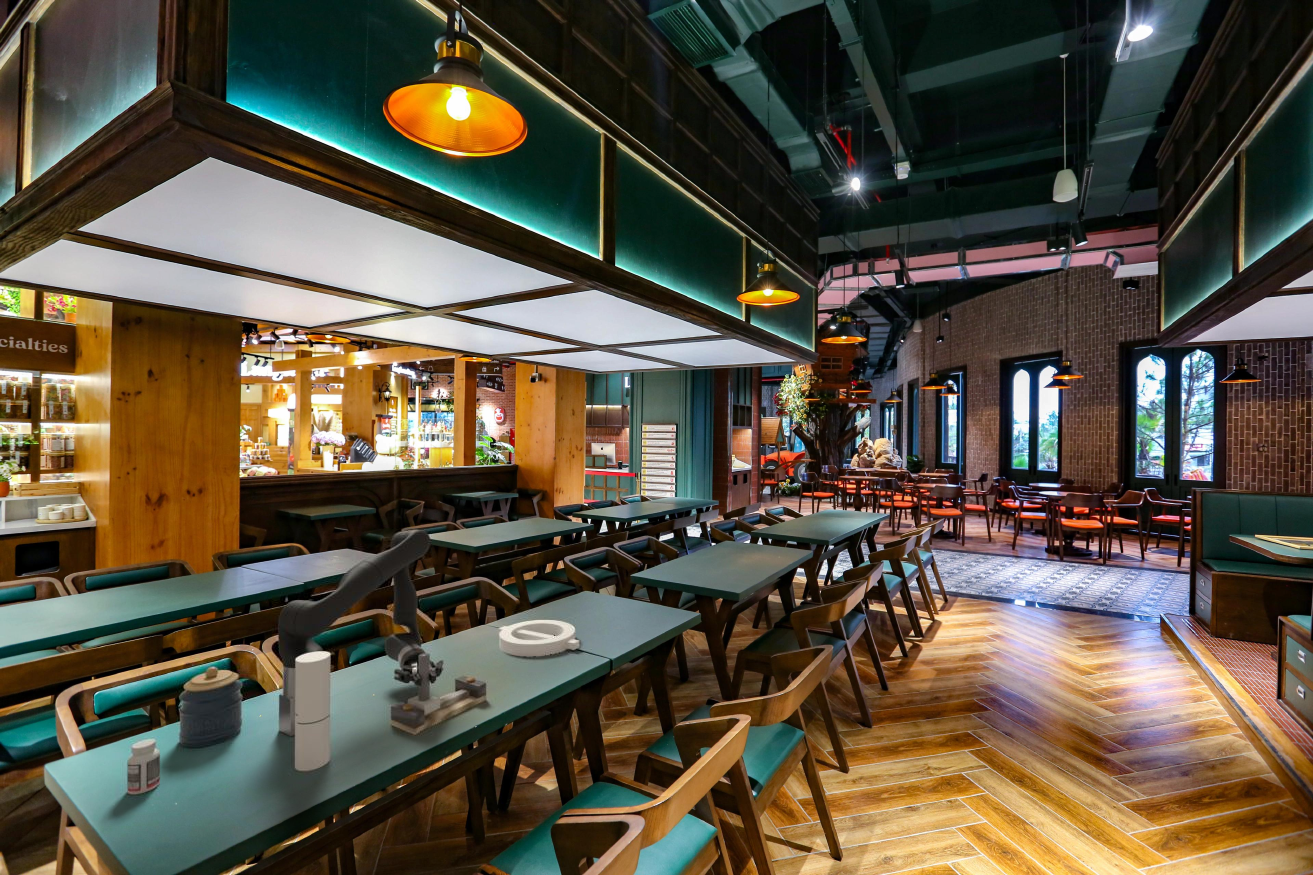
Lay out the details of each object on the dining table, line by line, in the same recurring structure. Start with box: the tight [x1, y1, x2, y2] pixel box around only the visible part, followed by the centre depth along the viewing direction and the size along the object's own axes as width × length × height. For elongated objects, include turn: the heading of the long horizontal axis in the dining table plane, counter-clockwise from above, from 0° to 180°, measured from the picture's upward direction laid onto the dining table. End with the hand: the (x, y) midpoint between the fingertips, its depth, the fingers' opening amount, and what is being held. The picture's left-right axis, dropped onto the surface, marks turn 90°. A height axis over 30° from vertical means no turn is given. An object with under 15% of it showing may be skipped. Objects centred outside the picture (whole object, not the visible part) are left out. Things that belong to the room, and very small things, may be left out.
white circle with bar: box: [498, 619, 580, 658], centre depth 220 cm, size 28×28×5 cm
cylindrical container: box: [294, 650, 331, 772], centre depth 138 cm, size 7×7×25 cm
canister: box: [178, 666, 243, 749], centre depth 150 cm, size 13×13×18 cm
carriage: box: [407, 652, 440, 715], centre depth 159 cm, size 5×7×14 cm
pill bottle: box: [126, 738, 161, 795], centre depth 128 cm, size 5×5×10 cm
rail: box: [390, 675, 487, 735], centre depth 164 cm, size 24×10×6 cm, turn 148°
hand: (426, 680), depth 157 cm, fingers closed on carriage, 3 cm apart
